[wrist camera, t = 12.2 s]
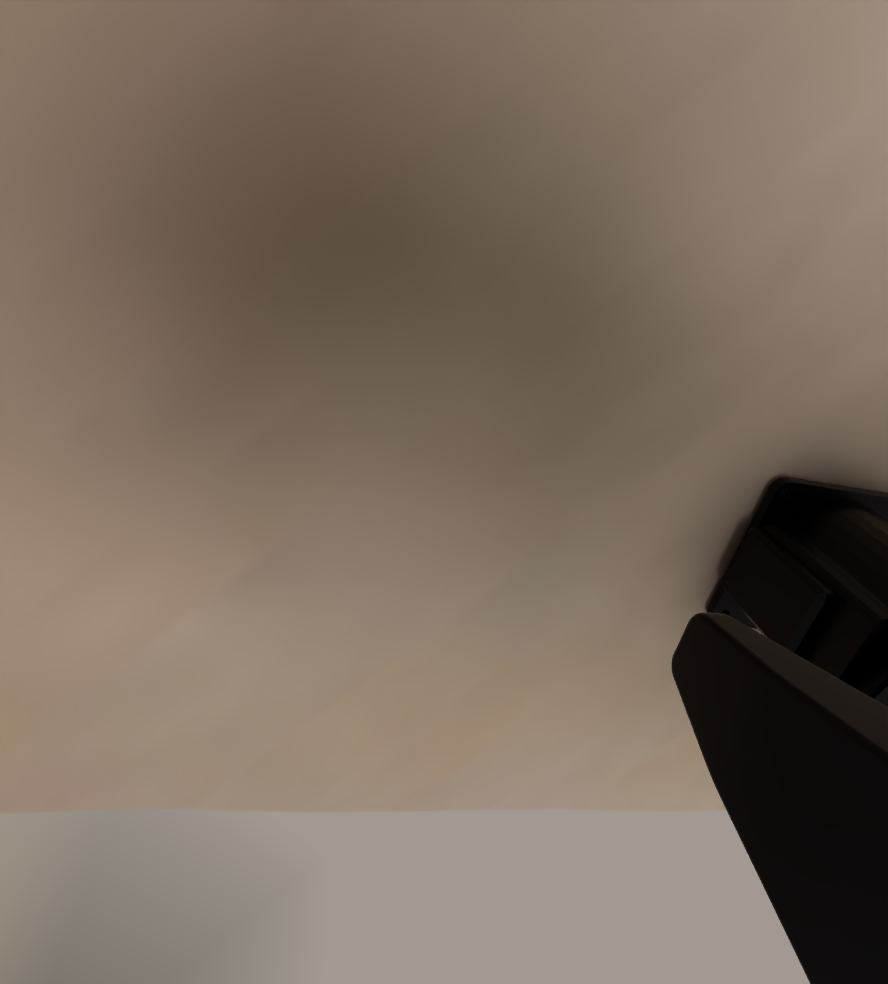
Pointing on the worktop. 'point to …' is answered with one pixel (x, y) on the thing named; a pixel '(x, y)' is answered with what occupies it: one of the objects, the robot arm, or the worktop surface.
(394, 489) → the worktop surface
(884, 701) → the robot arm
